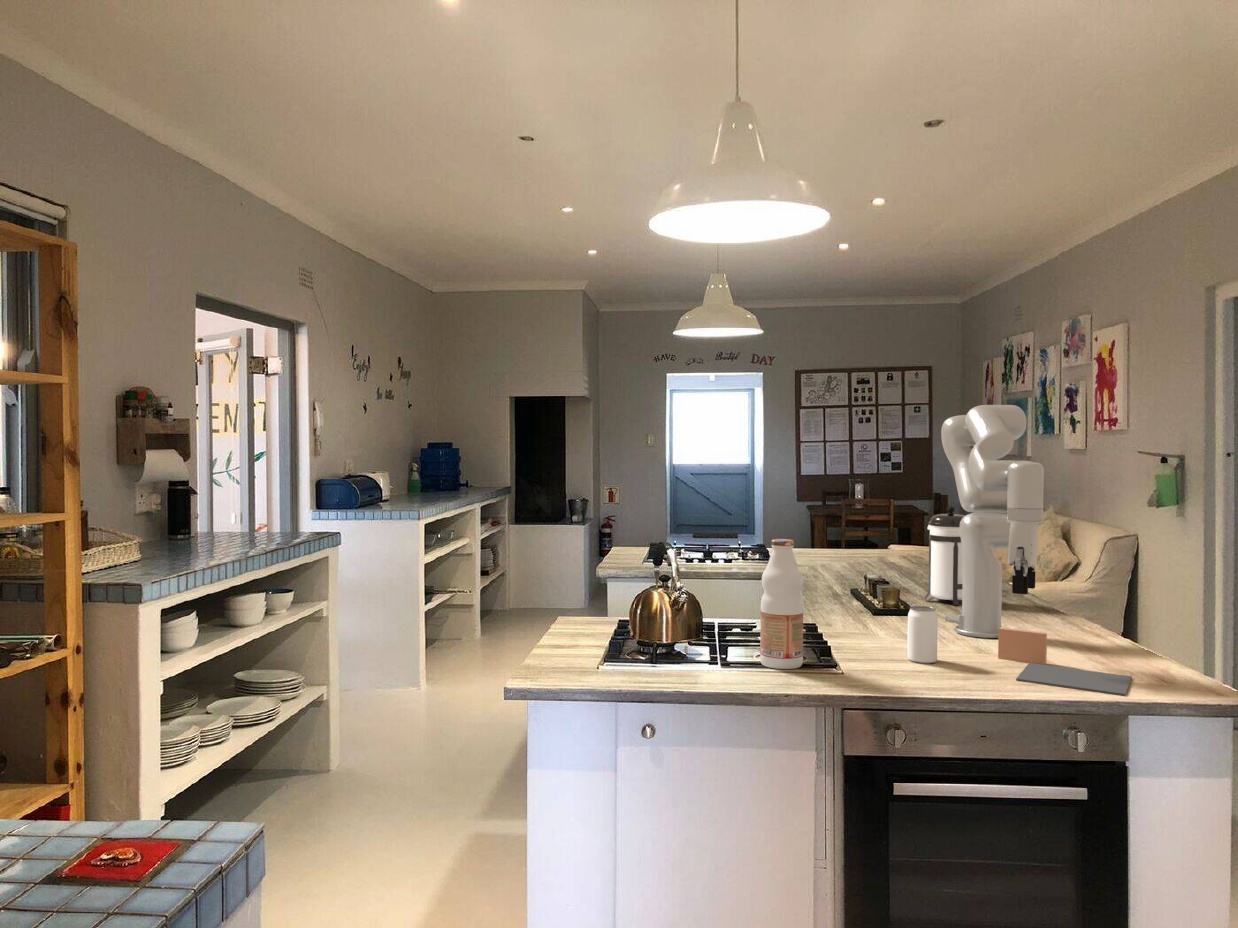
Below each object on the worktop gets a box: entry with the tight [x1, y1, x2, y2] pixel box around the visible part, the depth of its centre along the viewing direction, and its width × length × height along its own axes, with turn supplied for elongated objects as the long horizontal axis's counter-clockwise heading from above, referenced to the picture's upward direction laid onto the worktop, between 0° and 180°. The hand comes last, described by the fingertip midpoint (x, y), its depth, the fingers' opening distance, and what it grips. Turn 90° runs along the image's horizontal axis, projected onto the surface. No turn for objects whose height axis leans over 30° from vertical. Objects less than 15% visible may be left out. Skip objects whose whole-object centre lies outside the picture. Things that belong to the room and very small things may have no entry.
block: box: [997, 627, 1048, 665], centre depth 204 cm, size 10×2×7 cm, turn 56°
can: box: [906, 605, 939, 665], centre depth 204 cm, size 6×6×12 cm
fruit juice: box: [759, 538, 804, 670], centre depth 199 cm, size 9×9×28 cm
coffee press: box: [924, 505, 965, 607], centre depth 277 cm, size 17×16×30 cm
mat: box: [1015, 662, 1132, 697], centre depth 188 cm, size 20×16×1 cm
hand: (1023, 590), depth 203 cm, fingers open, 9 cm apart
